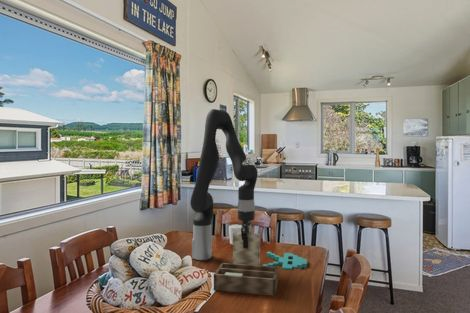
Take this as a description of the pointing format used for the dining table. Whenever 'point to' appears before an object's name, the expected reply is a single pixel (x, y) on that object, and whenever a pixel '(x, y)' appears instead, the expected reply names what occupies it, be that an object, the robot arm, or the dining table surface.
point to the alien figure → (287, 261)
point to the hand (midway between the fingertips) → (246, 246)
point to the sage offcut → (234, 274)
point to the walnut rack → (247, 279)
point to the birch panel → (246, 255)
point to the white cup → (233, 229)
